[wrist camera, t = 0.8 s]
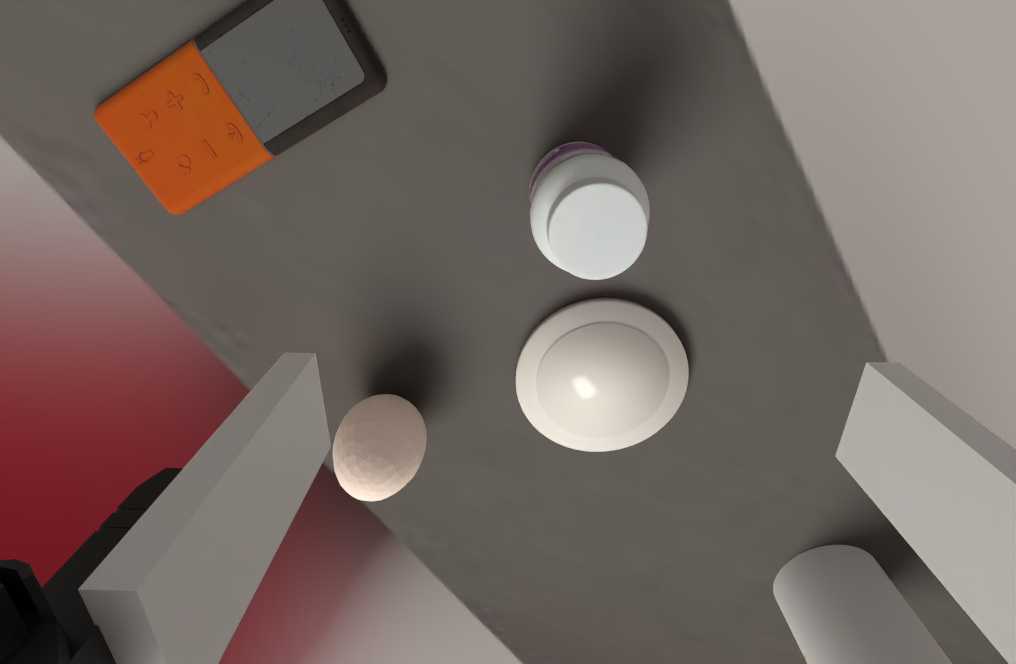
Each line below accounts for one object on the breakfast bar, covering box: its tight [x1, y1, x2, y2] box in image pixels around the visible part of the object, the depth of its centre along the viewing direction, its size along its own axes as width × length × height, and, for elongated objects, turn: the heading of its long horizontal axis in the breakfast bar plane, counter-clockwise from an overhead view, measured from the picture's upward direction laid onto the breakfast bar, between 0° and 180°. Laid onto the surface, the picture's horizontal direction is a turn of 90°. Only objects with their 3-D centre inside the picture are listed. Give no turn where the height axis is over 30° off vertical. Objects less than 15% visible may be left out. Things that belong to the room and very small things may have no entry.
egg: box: [333, 394, 427, 501], centre depth 33 cm, size 6×6×8 cm
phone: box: [94, 0, 386, 214], centre depth 28 cm, size 6×1×15 cm
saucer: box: [516, 298, 689, 452], centre depth 35 cm, size 11×11×1 cm
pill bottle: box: [529, 142, 650, 280], centre depth 26 cm, size 5×5×10 cm
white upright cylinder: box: [773, 545, 952, 664], centre depth 37 cm, size 8×8×12 cm
